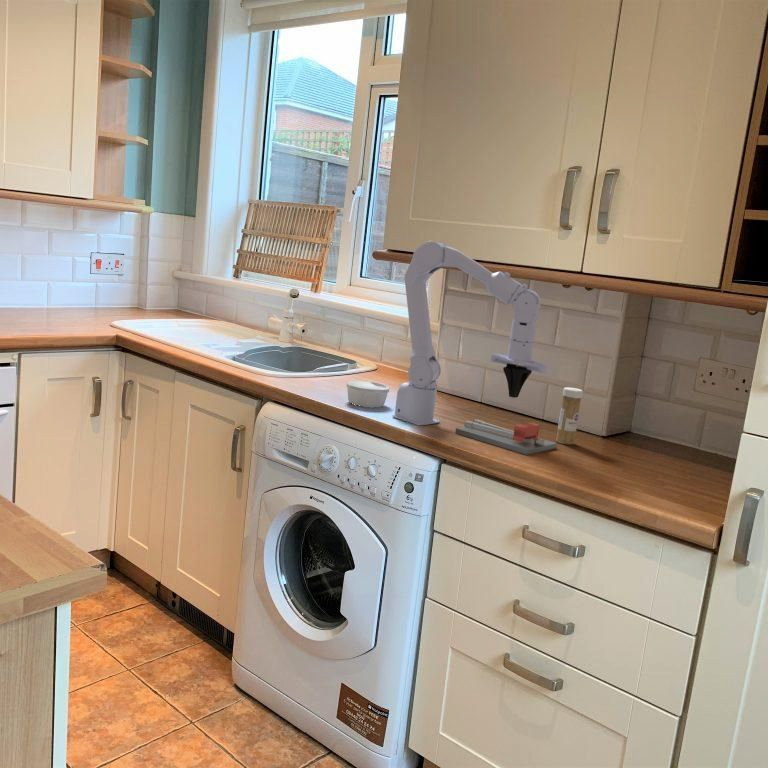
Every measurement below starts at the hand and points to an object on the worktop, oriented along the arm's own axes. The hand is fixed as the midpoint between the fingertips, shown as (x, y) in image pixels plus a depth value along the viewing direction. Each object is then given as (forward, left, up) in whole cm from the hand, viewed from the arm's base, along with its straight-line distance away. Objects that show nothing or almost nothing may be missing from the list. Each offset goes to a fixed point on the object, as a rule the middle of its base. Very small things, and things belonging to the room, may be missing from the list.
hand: (513, 396), depth 194 cm
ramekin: (-39, -9, -10) cm, 41 cm away
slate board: (+2, -4, -10) cm, 11 cm away
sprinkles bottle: (+10, +10, -10) cm, 17 cm away
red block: (+7, -4, -8) cm, 12 cm away
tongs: (+2, -4, -9) cm, 10 cm away
